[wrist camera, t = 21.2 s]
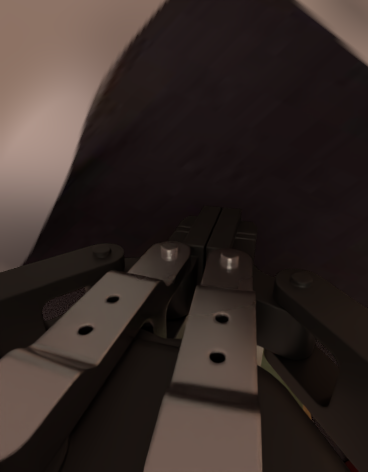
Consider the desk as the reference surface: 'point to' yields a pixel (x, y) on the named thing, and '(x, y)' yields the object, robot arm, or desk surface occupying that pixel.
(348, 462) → the hardcover book
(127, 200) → the desk surface
